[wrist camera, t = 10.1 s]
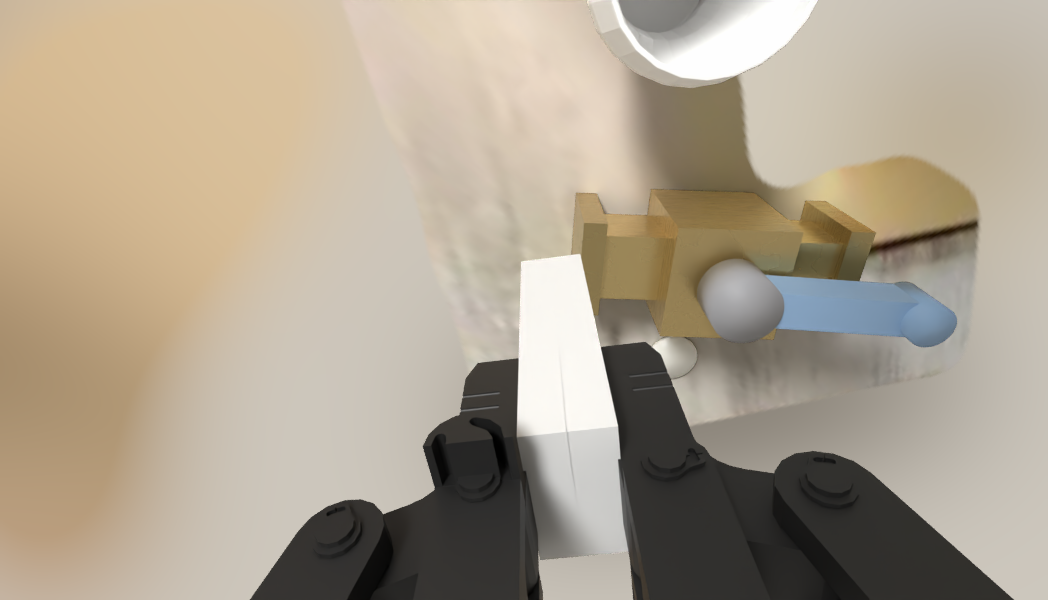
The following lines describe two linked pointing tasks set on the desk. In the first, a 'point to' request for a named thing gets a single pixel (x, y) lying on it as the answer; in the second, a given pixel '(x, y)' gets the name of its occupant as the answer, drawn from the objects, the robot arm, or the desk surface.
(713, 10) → the cup
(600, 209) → the valve body
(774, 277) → the lever
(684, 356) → the white domed disc
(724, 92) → the desk surface
